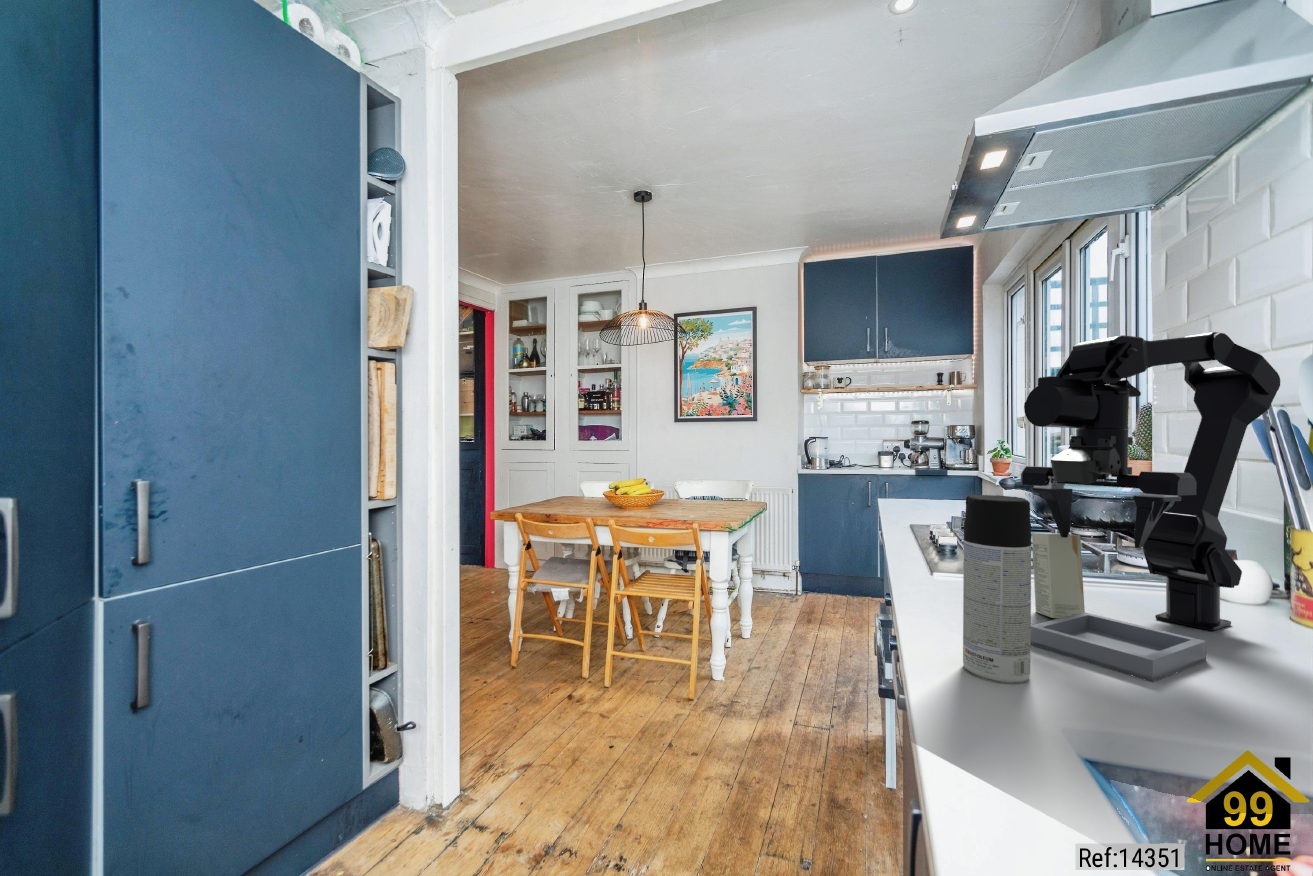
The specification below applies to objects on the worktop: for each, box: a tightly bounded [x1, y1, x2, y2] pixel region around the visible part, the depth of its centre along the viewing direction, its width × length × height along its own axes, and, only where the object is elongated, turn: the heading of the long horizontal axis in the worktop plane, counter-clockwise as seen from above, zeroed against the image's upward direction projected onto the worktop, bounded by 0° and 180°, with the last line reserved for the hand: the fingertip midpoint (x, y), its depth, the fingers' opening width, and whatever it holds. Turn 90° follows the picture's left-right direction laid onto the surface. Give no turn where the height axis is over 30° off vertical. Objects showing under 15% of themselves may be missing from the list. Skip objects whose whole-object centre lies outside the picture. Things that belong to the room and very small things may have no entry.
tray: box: [1031, 611, 1207, 683], centre depth 71 cm, size 13×13×2 cm
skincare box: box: [1031, 532, 1086, 619], centre depth 86 cm, size 6×4×12 cm
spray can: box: [962, 494, 1032, 685], centre depth 65 cm, size 7×7×20 cm
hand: (1099, 542), depth 79 cm, fingers open, 8 cm apart
